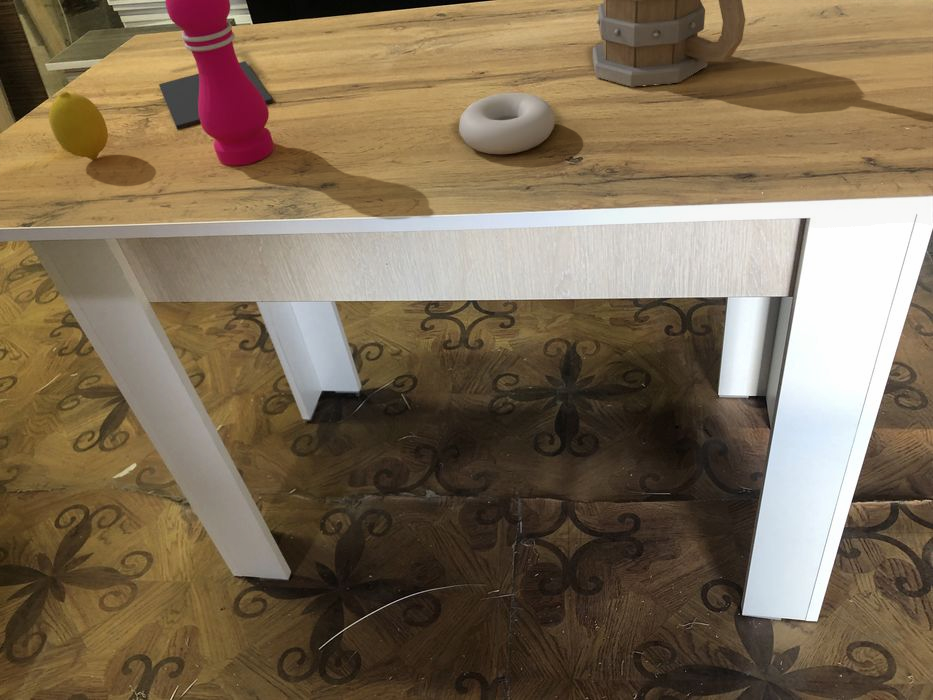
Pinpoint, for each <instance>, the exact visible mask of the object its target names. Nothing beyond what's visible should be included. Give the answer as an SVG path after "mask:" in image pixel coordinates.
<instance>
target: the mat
mask: <svg viewBox="0 0 933 700" xmlns="http://www.w3.org/2000/svg"><path fill="white" fill-rule="evenodd" d="M239 64H240V66H241V68H242V70H243V72H244V73H245V74H246V76H247V77H248V78H249V80H250V81H251V82H252V83H253V84H254V86H255V87H256V88H257V89H258V90H259V92H260V93H261V95H262V97H263V98H264V100H265V103H266V105H270V104H273V103H274V99H273V98H272V96H271V94H270V93H269V92H268V90H267V89H266V88H265V87H264V85H263V84H262V82H261V81H260V80H259V78H258V76H256V74H255V73H254V71H253V70H252V68H251V67H250V65H249V64H248V62H247V61H246V60H244V61H240V62H239ZM199 85H200V80H199V73H195V74H192V75H187V76H183V77H180V78H177V79H173V80H169V81H166V82H161V83H158V86H159V88H160V91H161V94H162V96H163V98H164V102H165V103H166V106H167V108H168V111H169V113H170V116H171V118H172V120H173V123H174V126H175V127H176V130H181V129H184V128H187V127H192V126H195V125H198V124H201V122H200V118H199V110H198V101H199Z"/></svg>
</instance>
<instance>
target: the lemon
mask: <svg viewBox="0 0 933 700" xmlns="http://www.w3.org/2000/svg"><path fill="white" fill-rule="evenodd" d="M48 121H49V125H50V128H51V131H52V134H53V136H54V137H55V140H56V142H58V144H59V145H60V146H61V147H62V148H63V149H64V150H65V151H66V152H67V153H70V154H71V155H73V156H76V157H81V158H87V159H89V160H92V161H93V160H96V159H97V158H98V156H99V153H100V152H102V151H103V150H104V149H105V147H106V145H107V143H108V139H109V132H108V128H107V122H106V120H105V118H104V116H103V114H102V113H101V111H100V110H99V108H98V107H97V105H95V103H93V102H92V101H91V100H90V99H89V98H87V97H86V96H84V95H82V94H78V93H72V92H70V93H69V92H67V91H62V92H60V93H59V95H58V96H57V97H56V98H55V99H54V100H53V101H52V103H51V104H50V107H49V110H48Z"/></svg>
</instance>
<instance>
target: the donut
mask: <svg viewBox="0 0 933 700" xmlns="http://www.w3.org/2000/svg"><path fill="white" fill-rule="evenodd" d="M555 123H556V120H555V112H554V109H553V108H552V106H551V105H550V104H549V103H548V102H547V101H546V99H544V98H542V97H539V96H537V95H535V94H530V93H525V92H502V93H495V94H491V95H488V96H485V97H483V98H481V99H478V100H476V101H474V102H473V103H471V104H469V106H467V107H466V109H465V110H464V111H463V113H462V114H461V116H460V118H459V125H458V132H459V135H460V136H461V138H462V140H463V141H464V143H465V144H466V145H467V146H468V147H470V148H472V149H474V150H475V151H476V152H481V153H485V154H488V155H510V154H512V155H513V154H517V153H522V152H525V151H529V150H531V149H533V148H535V147H538V146H539V145H541V144H542V143H543V142H544V141H546V140H547V139H548V138H549V136H550V135H551V133H552V132H553V129H554V128H555Z"/></svg>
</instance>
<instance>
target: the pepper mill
mask: <svg viewBox="0 0 933 700" xmlns="http://www.w3.org/2000/svg"><path fill="white" fill-rule="evenodd" d="M165 8H166V11H167V14H168V16H169V19H170V21H172V23H174V24H175V25H176V26H177V27H178V28H180V29H181V30H182V31H183V32H182V33H181V39H182V40H183V41H184V48H185V49H187V50H188V51H191V54H192V56H193V58H194V61H195V65H196V67H197V68H196V69H197V71H198V74H199V80H200V85H199V101H198V110H199V118H200V122H201V123H200V126H201V128H202V130H203V131H204V132H205V133H206V134H207V135H208V136H209V137H211V138H213V139H214V143H213V149H214V151H215V153H216V157H217V159H218V161H219V162H220V163H222V164H223V165H225V166H229V167H231V166H232V167H238V166H239V167H240V166H246V165H250V164H254V163H256V162H259V161H262V160H264V159H265V158H267V157H268V156H270V155H271V154H272V153H273V152H274V149H275V144H274V140H273V137H272V134H271V131H270V130H269V129H268V128H266V125H267V123H268V121H269V117H270V116H269V115H270V111H269V108H268V104H266V103H265V100H264V98H263V97H262V95H261V93H260V92H259V90H258V89H257V88H256V87H255V86H254V84H253V83H252V82H251V81H250V80H249V78H248V77H247V76H246V74H245V73H244V72H243V70H242V68H241V66H240V64H239V63H240V62H239V60H238V57H237V54H236V52H235V48H234V44H233V43H234V42H233V41H234V40H235V38H236V36H235V35H236V34H235V33H234V32H233V25H232V23H230V22H229V21H228V20H227V19H228V17H229V14H230V11H231V1H230V0H165Z"/></svg>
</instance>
